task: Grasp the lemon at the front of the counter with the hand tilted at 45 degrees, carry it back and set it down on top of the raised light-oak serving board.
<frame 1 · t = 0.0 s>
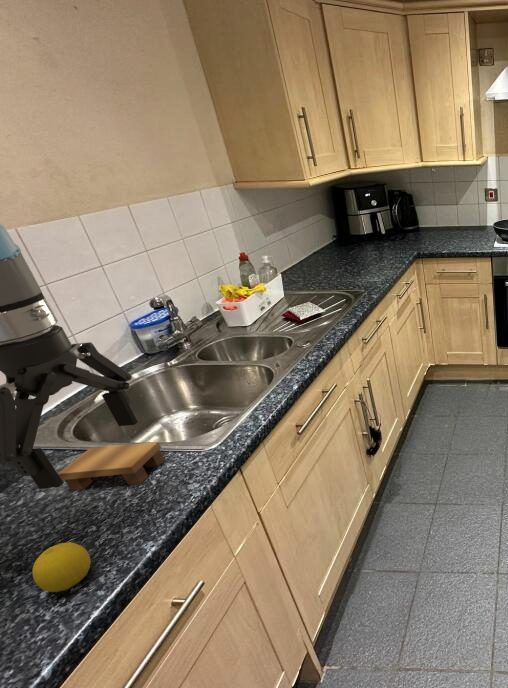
hand: (94, 452, 65), 17 cm above the worktop, tool pointing down, fingers open, 13 cm apart
serving board: (120, 475, 83), on the worktop
lemon: (76, 585, 62), on the worktop
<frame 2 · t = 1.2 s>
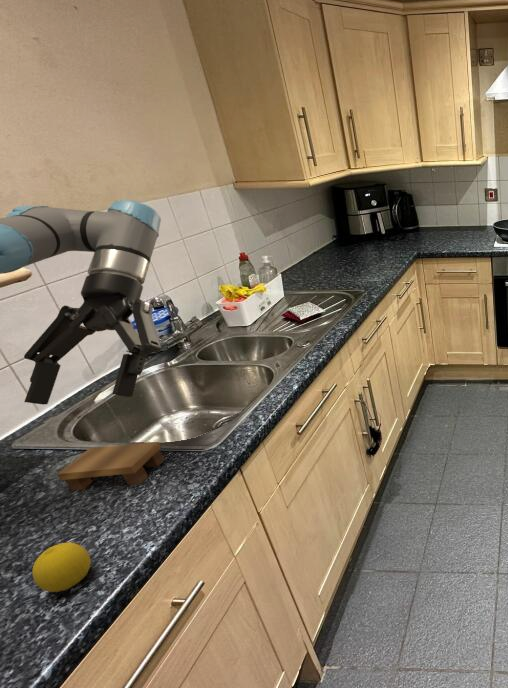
hand: (79, 399, 65), 25 cm above the worktop, tool tilted 45°, fingers open, 13 cm apart
nothing on the worktop moved.
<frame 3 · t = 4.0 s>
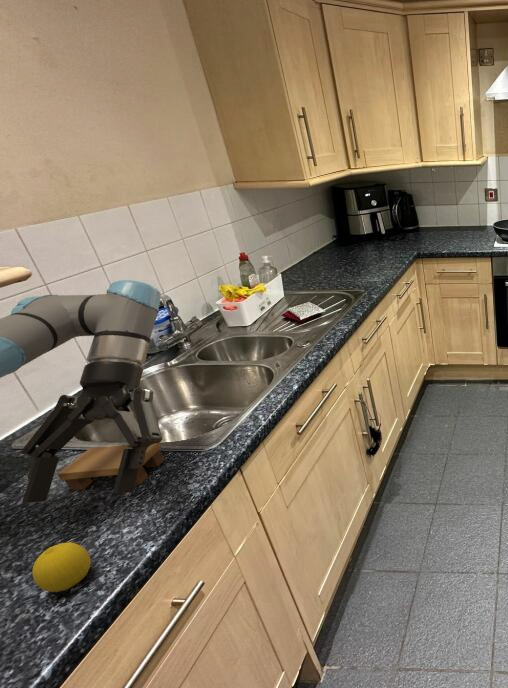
hand: (78, 497, 63), 11 cm above the worktop, tool tilted 45°, fingers open, 13 cm apart
nothing on the worktop moved.
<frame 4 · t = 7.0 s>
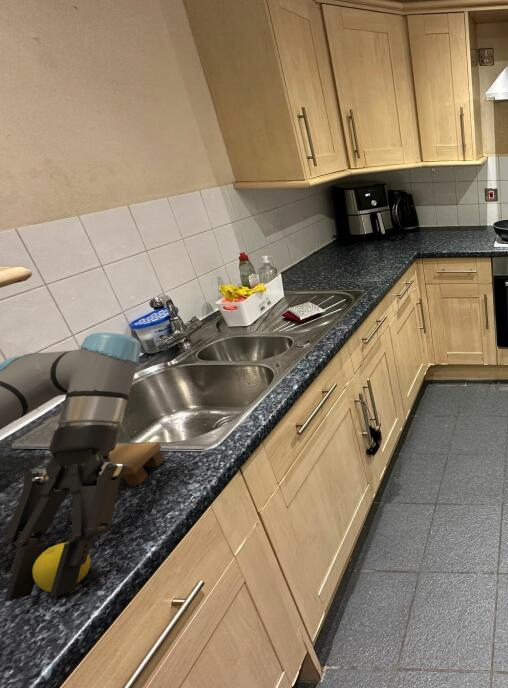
hand: (40, 595, 57), 3 cm above the worktop, tool tilted 45°, fingers closed on lemon, 5 cm apart
lemon: (76, 585, 62), on the worktop, touching gripper
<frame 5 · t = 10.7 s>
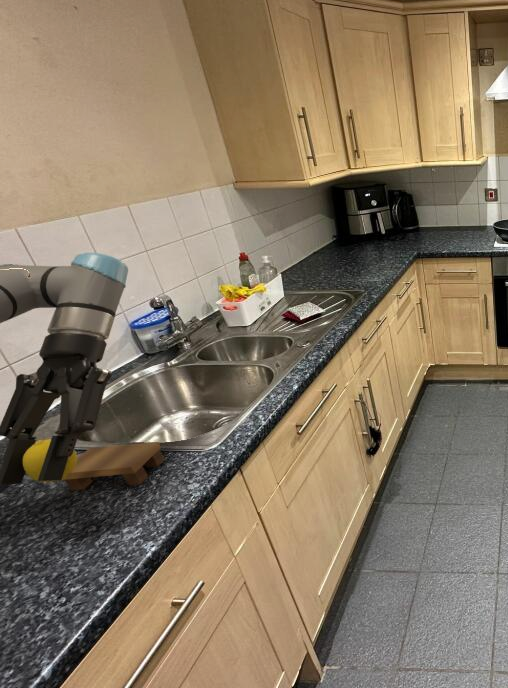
hand: (29, 482, 62), 15 cm above the worktop, tool tilted 45°, fingers closed on lemon, 5 cm apart
lemon: (64, 480, 67), point 12 cm above the worktop, touching gripper
when the fingers open (8 cm above the worktop, at t = 14.8 s): lemon stays where it is, resting on serving board.
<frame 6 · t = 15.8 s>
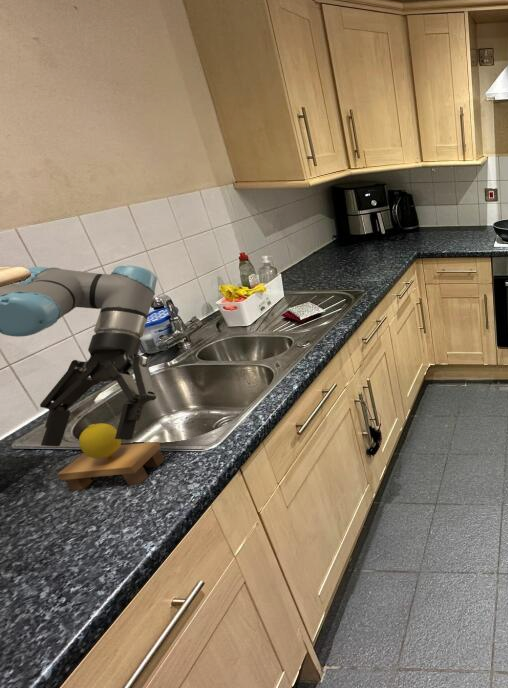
hand: (86, 442, 77), 11 cm above the worktop, tool tilted 45°, fingers open, 13 cm apart
lemon: (110, 457, 81), point 5 cm above the worktop, touching serving board
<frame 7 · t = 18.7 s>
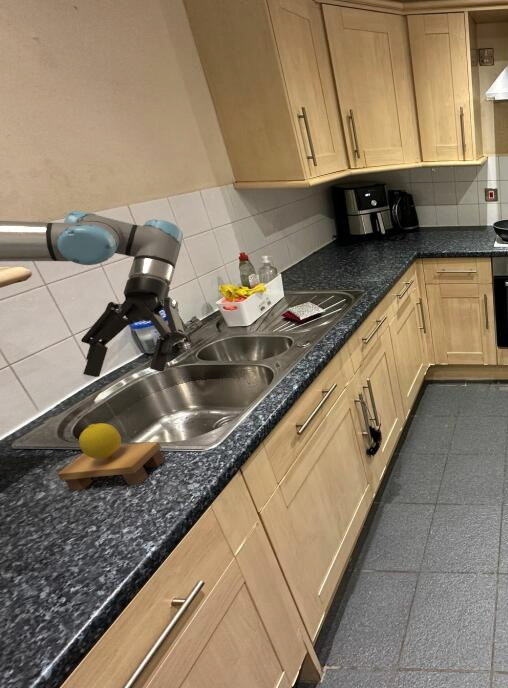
hand: (124, 372, 86), 18 cm above the worktop, tool tilted 45°, fingers open, 13 cm apart
nothing on the worktop moved.
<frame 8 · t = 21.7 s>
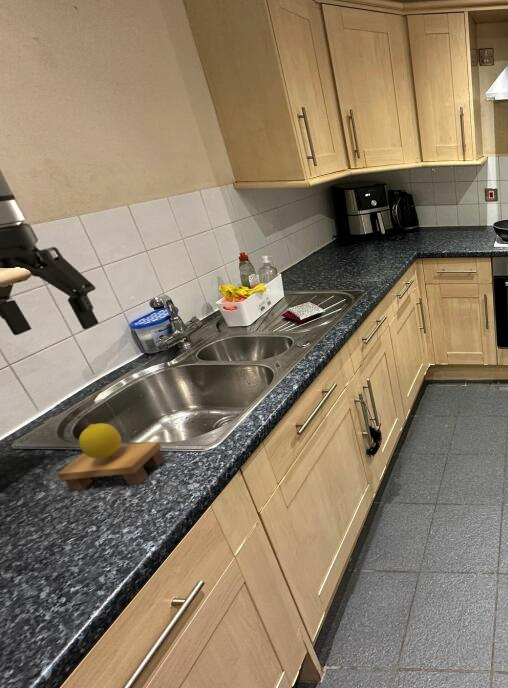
hand: (57, 329, 83), 29 cm above the worktop, tool pointing down, fingers open, 13 cm apart
nothing on the worktop moved.
at the end: lemon inside the target area on the serving board (0.1 cm from its centre), point 4.8 cm above the serving board's base; the gripper is holding nothing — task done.
